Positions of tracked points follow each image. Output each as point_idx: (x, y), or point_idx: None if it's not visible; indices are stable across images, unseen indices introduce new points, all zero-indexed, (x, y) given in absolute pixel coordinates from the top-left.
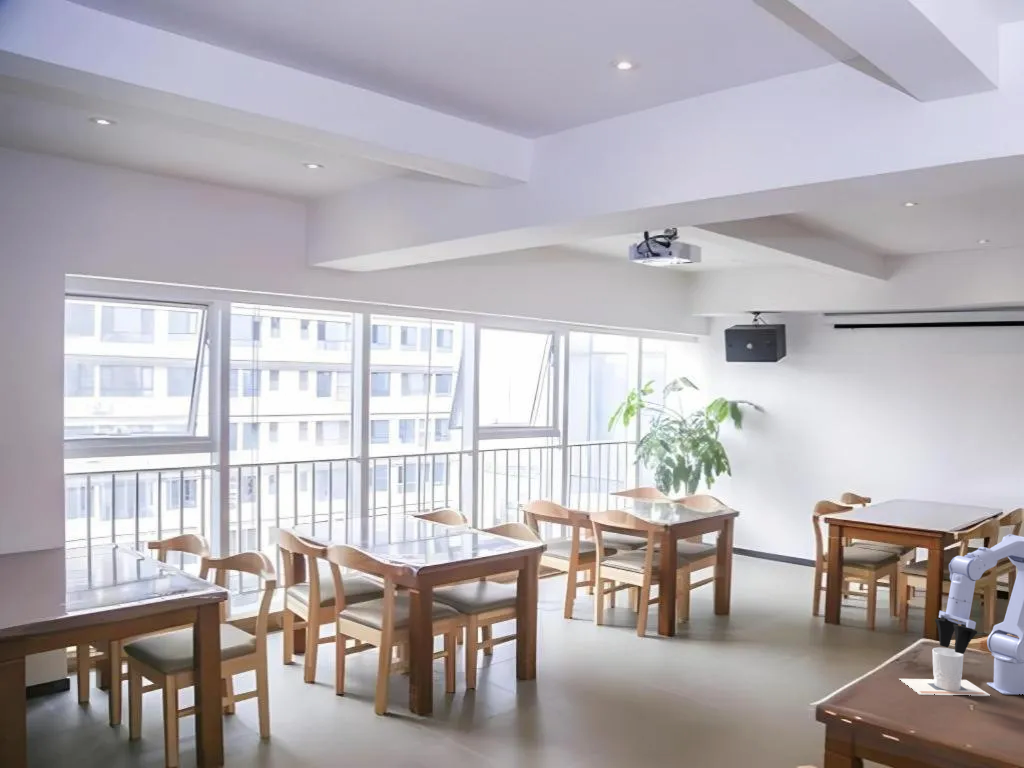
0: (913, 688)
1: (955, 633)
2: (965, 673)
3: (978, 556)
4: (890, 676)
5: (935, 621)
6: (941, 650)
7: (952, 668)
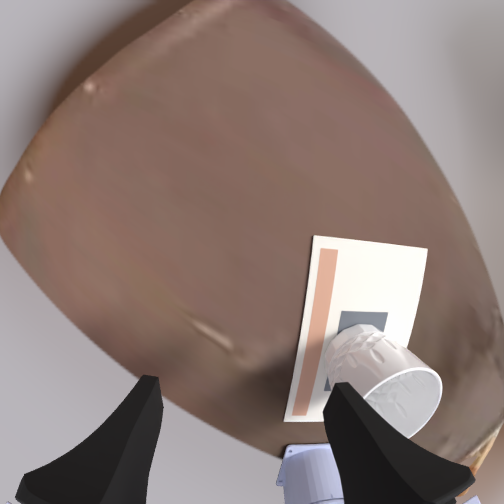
0: (359, 245)
1: (106, 467)
2: None
3: None
4: (444, 238)
5: (463, 465)
6: (429, 403)
7: None
